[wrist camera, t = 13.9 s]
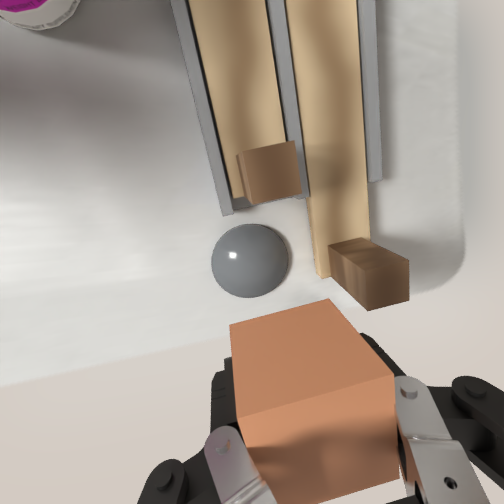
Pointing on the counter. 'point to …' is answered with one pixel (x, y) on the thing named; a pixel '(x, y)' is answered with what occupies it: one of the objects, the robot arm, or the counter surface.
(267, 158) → the oak strip
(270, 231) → the slate coaster
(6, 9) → the supplement can
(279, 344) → the rust cube
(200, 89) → the lane frame
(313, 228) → the oak strip
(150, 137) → the counter surface
